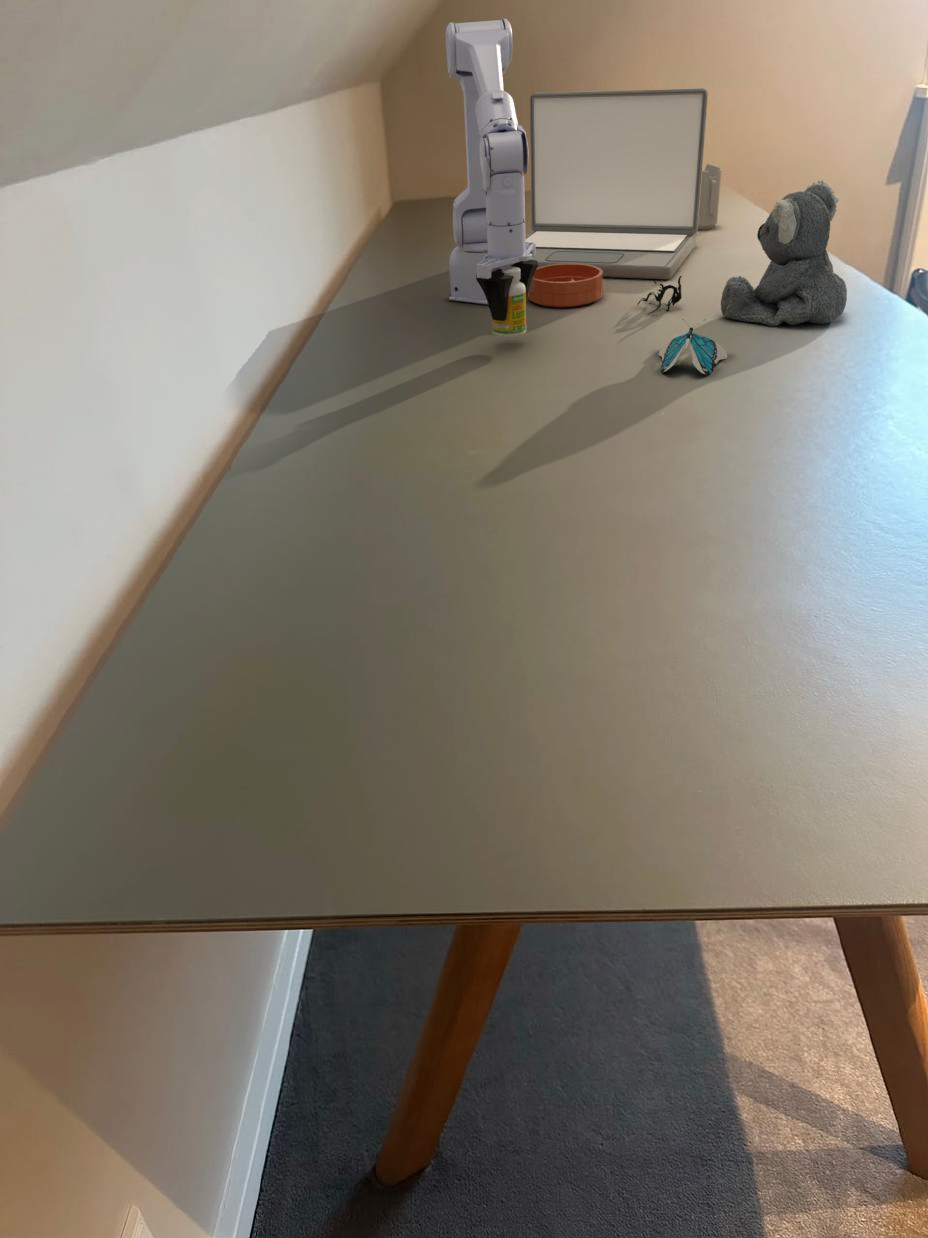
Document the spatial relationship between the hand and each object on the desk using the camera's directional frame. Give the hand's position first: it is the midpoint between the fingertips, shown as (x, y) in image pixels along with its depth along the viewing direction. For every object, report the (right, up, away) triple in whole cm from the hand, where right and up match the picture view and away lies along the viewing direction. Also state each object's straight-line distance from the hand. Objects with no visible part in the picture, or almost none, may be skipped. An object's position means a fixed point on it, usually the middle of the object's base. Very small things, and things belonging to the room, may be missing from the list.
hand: (508, 314), depth 147 cm
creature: (+27, +6, +15) cm, 31 cm away
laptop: (+20, +26, +45) cm, 55 cm away
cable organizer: (+46, +41, +66) cm, 90 cm away
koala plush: (+46, +2, +8) cm, 47 cm away
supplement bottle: (0, -3, +2) cm, 3 cm away
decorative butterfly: (+26, -11, -9) cm, 30 cm away
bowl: (+11, +10, +23) cm, 28 cm away
